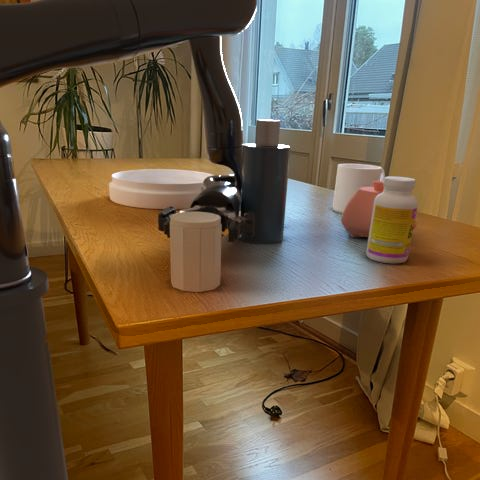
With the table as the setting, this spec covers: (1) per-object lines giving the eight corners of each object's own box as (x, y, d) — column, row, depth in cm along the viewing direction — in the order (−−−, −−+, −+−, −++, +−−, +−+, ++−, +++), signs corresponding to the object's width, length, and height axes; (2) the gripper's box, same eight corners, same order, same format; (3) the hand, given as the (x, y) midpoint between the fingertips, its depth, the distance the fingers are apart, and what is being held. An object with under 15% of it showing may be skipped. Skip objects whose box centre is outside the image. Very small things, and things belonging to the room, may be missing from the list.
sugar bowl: (349, 224, 100) (356, 174, 96) (418, 235, 94) (429, 182, 90) (331, 237, 90) (338, 181, 86) (407, 249, 84) (418, 190, 80)
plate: (86, 201, 111) (84, 177, 109) (146, 186, 134) (146, 165, 132) (190, 214, 103) (190, 188, 100) (235, 195, 126) (236, 174, 123)
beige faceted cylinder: (175, 293, 60) (173, 223, 57) (168, 276, 66) (167, 211, 63) (224, 290, 62) (226, 222, 58) (213, 274, 68) (214, 210, 64)
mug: (350, 216, 108) (357, 169, 103) (324, 208, 116) (329, 163, 111) (392, 213, 113) (399, 168, 109) (363, 205, 121) (370, 163, 117)
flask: (246, 244, 83) (251, 120, 75) (234, 232, 90) (239, 118, 82) (289, 243, 85) (299, 122, 77) (274, 231, 92) (283, 119, 84)
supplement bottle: (409, 266, 75) (426, 183, 70) (366, 262, 76) (379, 179, 71) (404, 254, 81) (419, 177, 76) (364, 251, 82) (376, 174, 77)
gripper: (174, 184, 79) (148, 202, 64) (259, 189, 78) (253, 208, 63) (174, 229, 82) (150, 256, 67) (257, 234, 81) (250, 262, 66)
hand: (200, 233), depth 65 cm, fingers open, 8 cm apart
